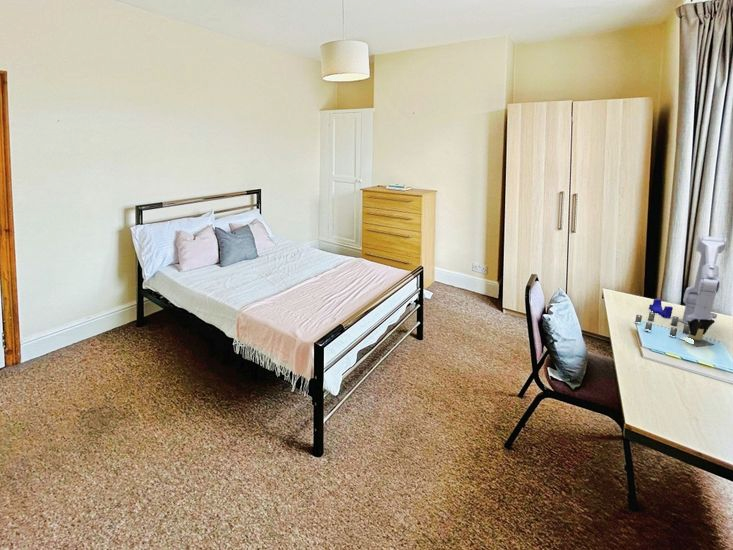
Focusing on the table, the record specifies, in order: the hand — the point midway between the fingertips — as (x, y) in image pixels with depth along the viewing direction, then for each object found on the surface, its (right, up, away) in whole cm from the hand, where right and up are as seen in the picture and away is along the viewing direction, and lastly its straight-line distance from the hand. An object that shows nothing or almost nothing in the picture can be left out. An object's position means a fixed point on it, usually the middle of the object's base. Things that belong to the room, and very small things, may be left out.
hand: (697, 334), depth 187 cm
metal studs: (-5, +1, +15) cm, 16 cm away
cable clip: (+6, +6, +33) cm, 34 cm away
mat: (0, -3, +1) cm, 3 cm away
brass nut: (0, -2, +1) cm, 2 cm away
